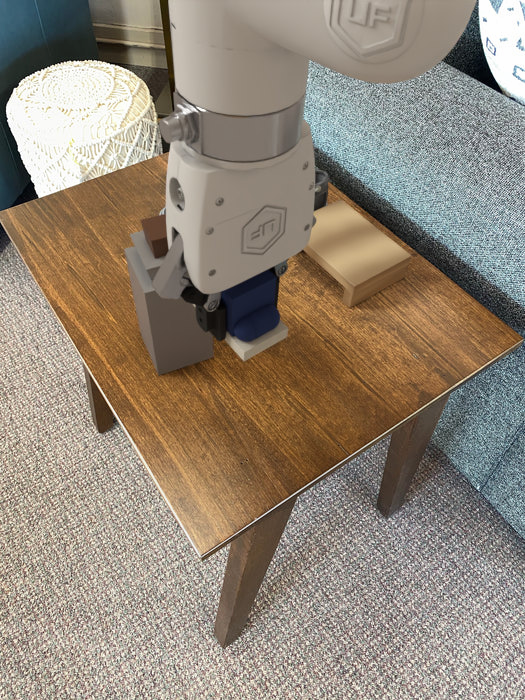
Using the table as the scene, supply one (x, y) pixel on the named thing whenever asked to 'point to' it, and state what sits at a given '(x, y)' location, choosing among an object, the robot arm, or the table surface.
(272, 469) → the table surface
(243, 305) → the high-top sneaker
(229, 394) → the table surface
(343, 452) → the table surface
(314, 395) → the table surface
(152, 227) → the perfume bottle
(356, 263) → the shoe shelf
